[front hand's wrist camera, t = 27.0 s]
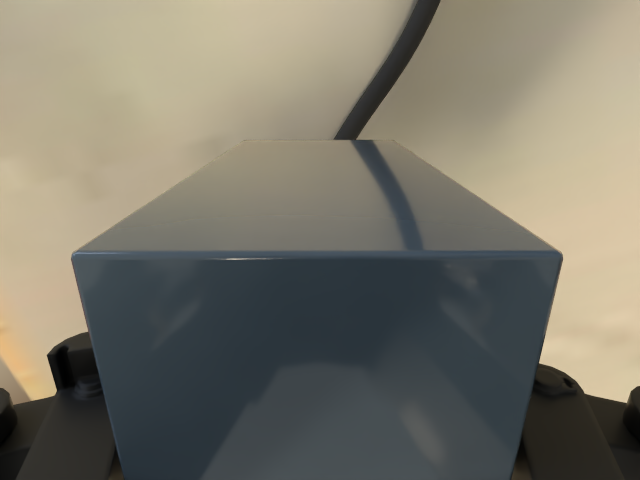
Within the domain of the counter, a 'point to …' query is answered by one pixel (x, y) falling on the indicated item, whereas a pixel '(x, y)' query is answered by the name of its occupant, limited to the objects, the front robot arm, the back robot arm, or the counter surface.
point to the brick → (317, 320)
